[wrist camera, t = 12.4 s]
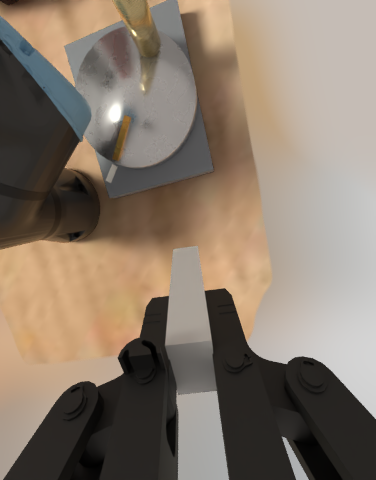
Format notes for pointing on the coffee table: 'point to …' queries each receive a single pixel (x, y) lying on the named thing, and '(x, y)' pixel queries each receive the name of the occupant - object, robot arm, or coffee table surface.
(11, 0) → the mug
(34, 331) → the coffee table surface
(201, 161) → the stand
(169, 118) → the silver disc with stripe
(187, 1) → the coffee table surface
